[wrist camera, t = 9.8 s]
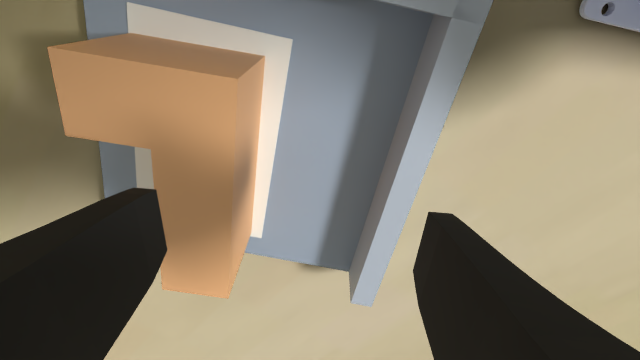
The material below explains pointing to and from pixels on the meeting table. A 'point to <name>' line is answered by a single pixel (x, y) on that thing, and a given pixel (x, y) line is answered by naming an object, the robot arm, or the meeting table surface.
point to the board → (293, 107)
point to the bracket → (176, 139)
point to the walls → (415, 133)
